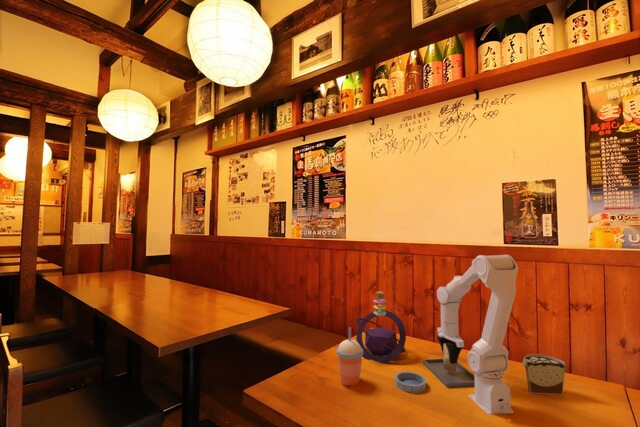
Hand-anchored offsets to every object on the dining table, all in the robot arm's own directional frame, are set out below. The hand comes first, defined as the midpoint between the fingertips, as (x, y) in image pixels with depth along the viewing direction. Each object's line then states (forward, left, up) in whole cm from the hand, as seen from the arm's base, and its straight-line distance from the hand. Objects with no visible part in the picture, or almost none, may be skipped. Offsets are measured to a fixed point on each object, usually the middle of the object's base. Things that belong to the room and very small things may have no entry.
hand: (450, 360), depth 110 cm
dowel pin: (0, 0, -3) cm, 3 cm away
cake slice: (-12, -24, -5) cm, 27 cm away
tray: (0, 0, -5) cm, 5 cm away
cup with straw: (-1, +36, -5) cm, 36 cm away
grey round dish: (-6, +17, -5) cm, 19 cm away
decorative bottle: (+20, +19, -5) cm, 28 cm away
